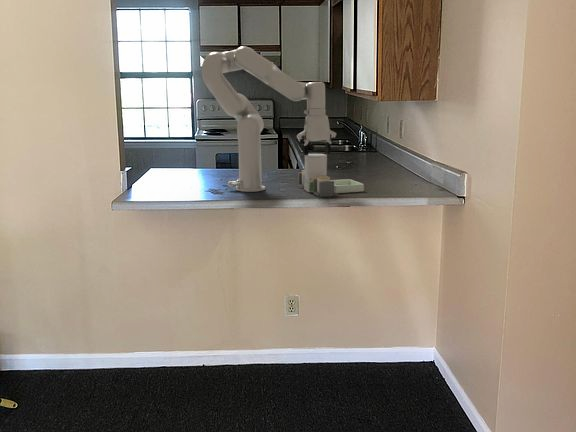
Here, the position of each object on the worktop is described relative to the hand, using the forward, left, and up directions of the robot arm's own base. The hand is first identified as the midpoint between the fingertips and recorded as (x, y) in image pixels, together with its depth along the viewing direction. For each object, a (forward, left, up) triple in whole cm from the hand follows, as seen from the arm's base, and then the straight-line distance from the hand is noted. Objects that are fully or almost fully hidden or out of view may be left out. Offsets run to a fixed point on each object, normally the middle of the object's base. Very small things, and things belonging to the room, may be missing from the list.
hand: (317, 154), depth 256 cm
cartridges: (-1, 0, -16) cm, 16 cm away
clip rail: (-1, 0, -16) cm, 16 cm away
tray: (+12, -1, -16) cm, 20 cm away
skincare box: (-1, 0, -16) cm, 16 cm away
